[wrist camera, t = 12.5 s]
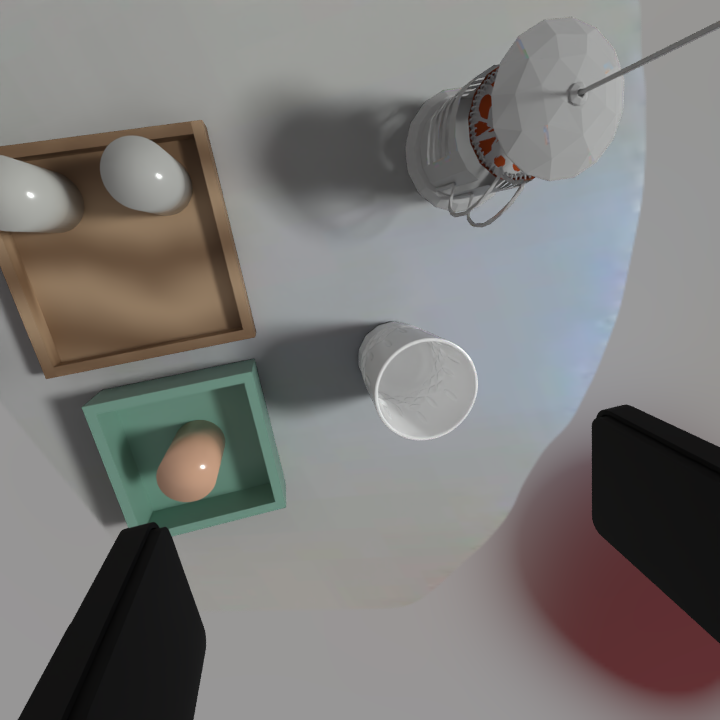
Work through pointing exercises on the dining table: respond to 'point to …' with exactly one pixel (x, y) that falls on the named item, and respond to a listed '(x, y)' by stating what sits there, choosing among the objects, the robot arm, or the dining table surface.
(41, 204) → the pebble
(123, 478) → the bin
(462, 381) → the white cup
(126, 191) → the pebble
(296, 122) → the dining table surface
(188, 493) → the brown smooth lump
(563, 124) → the french press
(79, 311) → the tray
